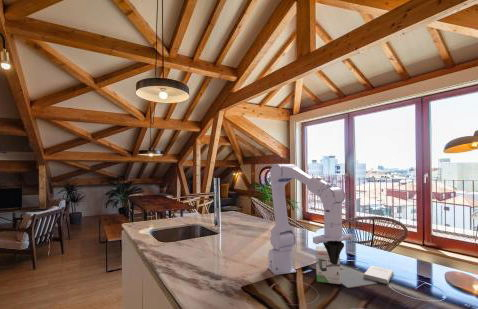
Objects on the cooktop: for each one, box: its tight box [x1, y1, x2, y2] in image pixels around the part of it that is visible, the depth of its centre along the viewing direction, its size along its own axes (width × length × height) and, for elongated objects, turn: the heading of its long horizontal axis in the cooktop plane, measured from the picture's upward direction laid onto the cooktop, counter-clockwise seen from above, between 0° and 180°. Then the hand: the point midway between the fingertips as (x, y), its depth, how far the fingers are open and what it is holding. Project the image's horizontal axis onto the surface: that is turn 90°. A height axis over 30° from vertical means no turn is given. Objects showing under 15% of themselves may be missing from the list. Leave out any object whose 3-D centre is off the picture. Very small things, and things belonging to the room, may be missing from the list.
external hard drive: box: [362, 265, 394, 284], centre depth 102 cm, size 2×8×12 cm
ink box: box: [315, 245, 342, 285], centre depth 98 cm, size 9×5×12 cm, turn 71°
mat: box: [340, 268, 378, 289], centre depth 101 cm, size 12×14×1 cm
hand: (333, 263), depth 88 cm, fingers closed
